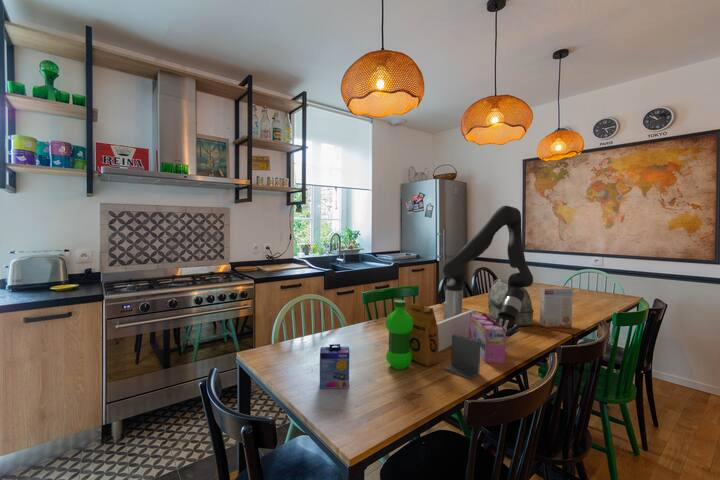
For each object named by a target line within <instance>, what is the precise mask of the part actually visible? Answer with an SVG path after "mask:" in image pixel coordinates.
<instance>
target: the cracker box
mask: <svg viewBox="0 0 720 480" xmlns="http://www.w3.org/2000/svg"><path fill="white" fill-rule="evenodd" d="M539 288H540V289H539V290H540V291H539V292H540V293H539V325H540V326H542V327H543V328H550V329H553V328H554V329H556V328H557V329H572V327H573V326H572V325H573V324H572V323H573V322H572V321H573V291H574V290H573V289H572V288H570V287H569V286H568V287H567V286H566V287H565V286H540V287H539Z"/></svg>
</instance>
